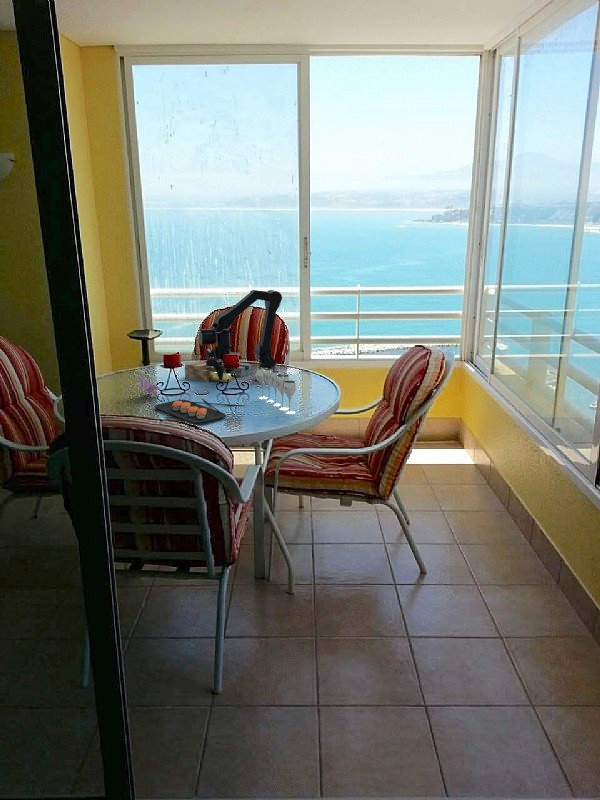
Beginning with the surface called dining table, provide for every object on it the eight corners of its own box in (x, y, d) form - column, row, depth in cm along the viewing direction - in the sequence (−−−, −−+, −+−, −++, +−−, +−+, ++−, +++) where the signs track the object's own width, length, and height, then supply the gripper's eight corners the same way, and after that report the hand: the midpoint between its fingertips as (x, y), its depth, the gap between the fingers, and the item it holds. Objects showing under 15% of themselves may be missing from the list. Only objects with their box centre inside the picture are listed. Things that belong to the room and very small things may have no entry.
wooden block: (217, 378, 286) (217, 364, 284) (206, 381, 279) (206, 367, 277) (196, 374, 291) (195, 361, 290) (185, 378, 285) (184, 364, 283)
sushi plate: (151, 410, 239) (150, 400, 238) (215, 396, 259) (214, 387, 258) (196, 428, 219) (196, 418, 218) (261, 411, 240) (261, 401, 238)
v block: (252, 372, 297) (252, 364, 296) (240, 377, 288) (240, 368, 287) (228, 369, 303) (227, 360, 302) (215, 373, 295) (215, 364, 294)
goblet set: (299, 413, 236) (299, 378, 232) (285, 415, 233) (286, 380, 230) (265, 395, 260) (265, 363, 256) (253, 397, 257) (252, 365, 253)
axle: (231, 382, 280) (232, 373, 280) (226, 383, 277) (227, 374, 276) (202, 378, 288) (202, 369, 287) (196, 378, 284) (197, 369, 284)
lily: (161, 404, 249) (167, 380, 251) (132, 395, 244) (139, 372, 245) (151, 405, 259) (157, 383, 261) (124, 397, 254) (130, 375, 256)
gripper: (220, 338, 287) (221, 372, 291) (195, 345, 271) (196, 380, 275) (241, 340, 281) (241, 375, 286) (216, 348, 266) (217, 383, 270)
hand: (224, 378), depth 279 cm, fingers open, 5 cm apart
